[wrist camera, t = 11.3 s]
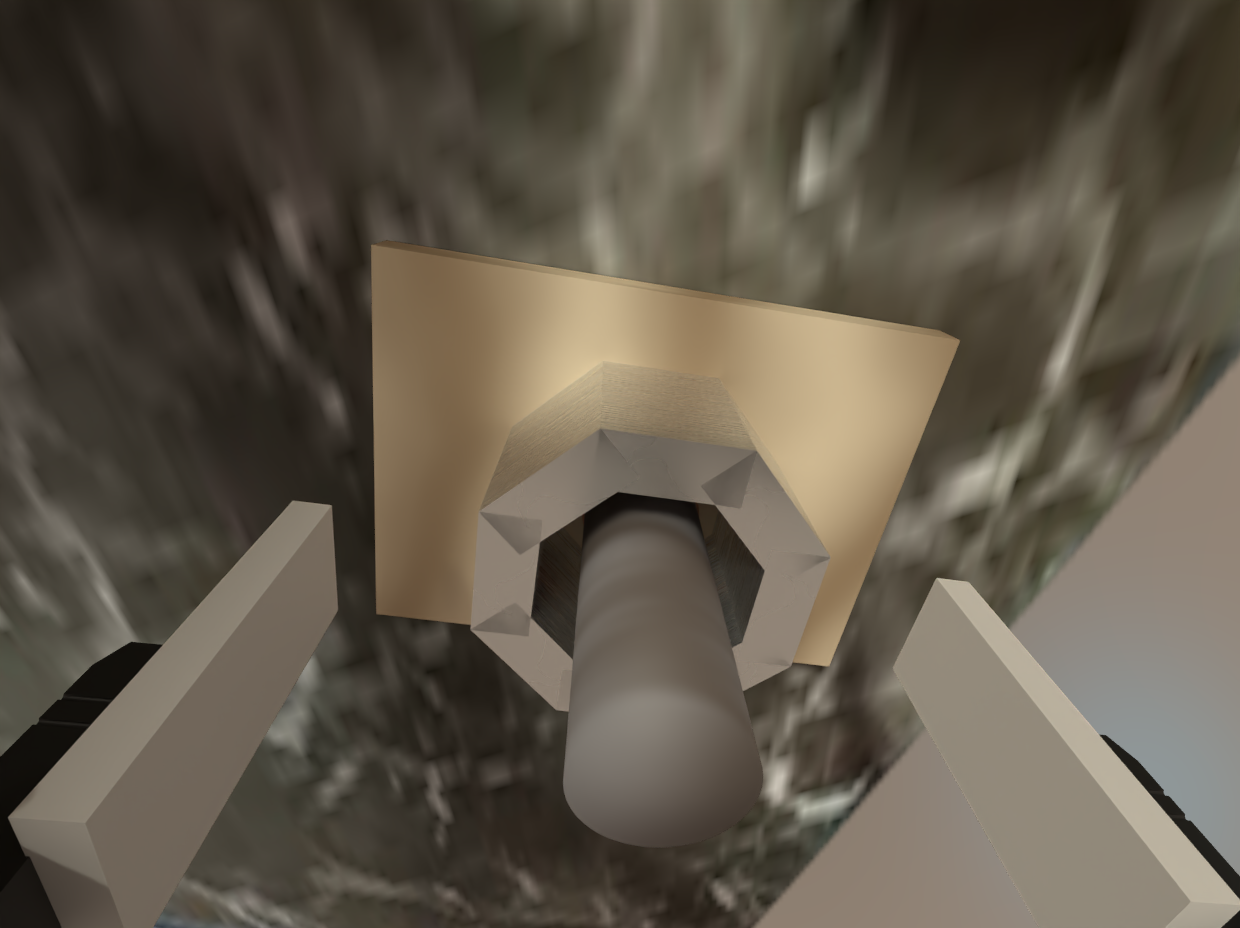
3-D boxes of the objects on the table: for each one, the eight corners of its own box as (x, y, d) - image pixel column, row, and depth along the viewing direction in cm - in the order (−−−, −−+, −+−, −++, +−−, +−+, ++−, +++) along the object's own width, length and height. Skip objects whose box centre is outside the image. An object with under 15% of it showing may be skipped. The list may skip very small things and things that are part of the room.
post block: (388, 591, 22) (194, 954, 12) (386, 240, 17) (41, 343, 7) (818, 643, 23) (980, 1010, 13) (939, 330, 18) (1359, 532, 8)
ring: (498, 582, 20) (465, 700, 16) (519, 348, 17) (485, 412, 12) (733, 611, 21) (766, 732, 16) (799, 390, 17) (864, 466, 13)
